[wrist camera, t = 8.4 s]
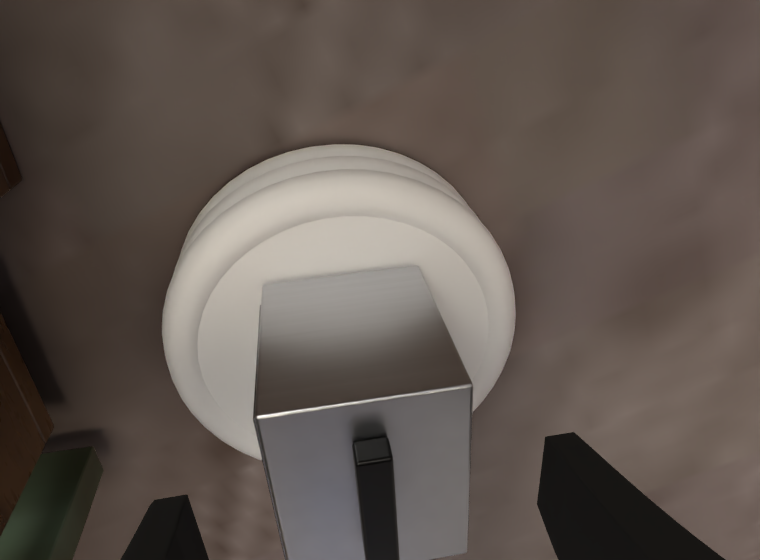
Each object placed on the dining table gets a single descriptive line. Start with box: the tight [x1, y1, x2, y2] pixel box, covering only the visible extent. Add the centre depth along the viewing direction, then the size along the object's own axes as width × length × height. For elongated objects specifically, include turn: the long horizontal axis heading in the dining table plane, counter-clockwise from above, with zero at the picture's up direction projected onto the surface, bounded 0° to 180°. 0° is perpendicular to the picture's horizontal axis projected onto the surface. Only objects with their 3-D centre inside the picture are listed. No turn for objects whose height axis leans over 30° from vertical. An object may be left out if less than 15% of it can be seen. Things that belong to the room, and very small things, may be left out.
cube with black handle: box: [253, 265, 473, 560], centre depth 13 cm, size 5×4×5 cm
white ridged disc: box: [162, 144, 516, 460], centre depth 17 cm, size 10×10×4 cm
